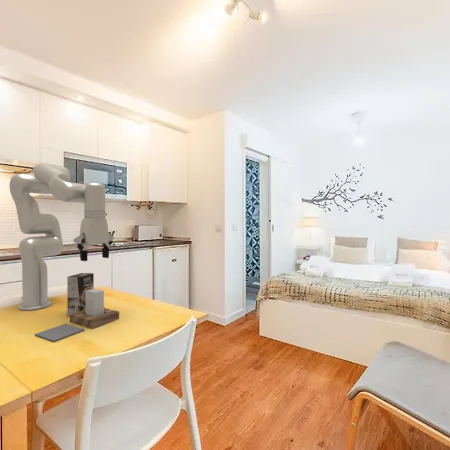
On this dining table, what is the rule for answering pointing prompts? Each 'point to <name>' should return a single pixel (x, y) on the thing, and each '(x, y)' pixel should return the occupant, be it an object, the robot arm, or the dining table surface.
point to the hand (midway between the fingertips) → (95, 259)
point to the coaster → (59, 332)
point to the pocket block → (94, 318)
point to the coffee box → (78, 291)
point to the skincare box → (94, 302)
